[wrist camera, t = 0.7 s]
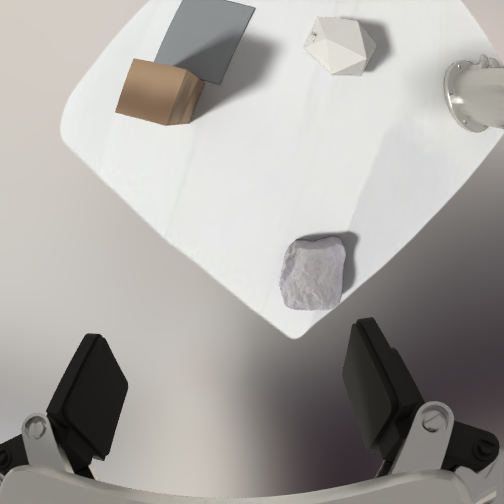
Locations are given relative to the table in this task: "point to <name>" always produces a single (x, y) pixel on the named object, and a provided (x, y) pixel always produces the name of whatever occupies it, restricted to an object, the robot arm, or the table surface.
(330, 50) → the die
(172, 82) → the walnut block
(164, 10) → the table surface
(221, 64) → the pad
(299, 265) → the stone block
